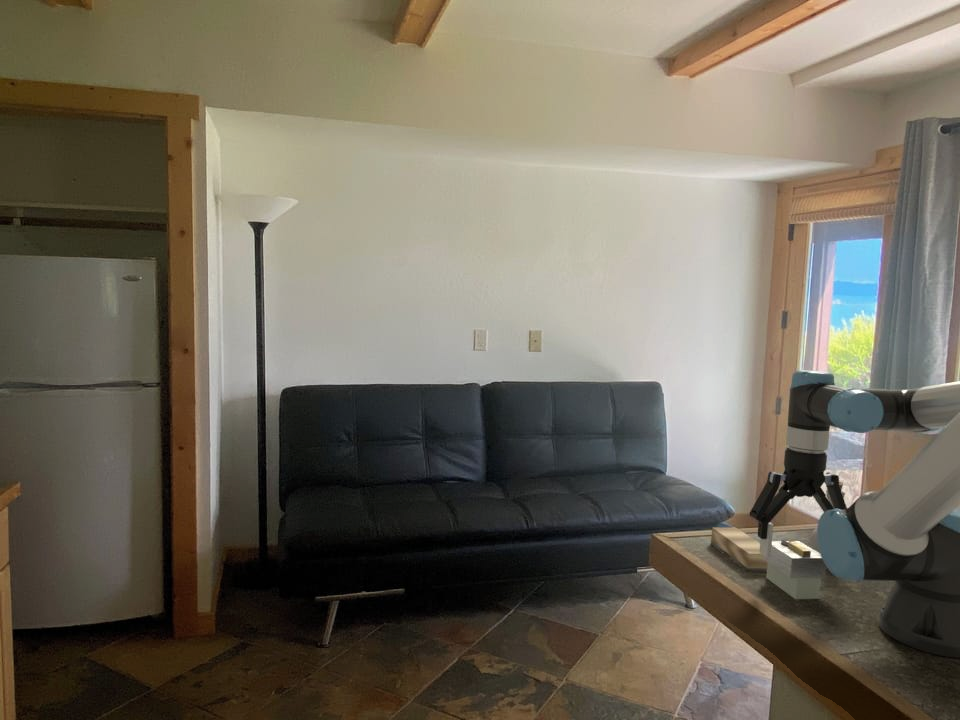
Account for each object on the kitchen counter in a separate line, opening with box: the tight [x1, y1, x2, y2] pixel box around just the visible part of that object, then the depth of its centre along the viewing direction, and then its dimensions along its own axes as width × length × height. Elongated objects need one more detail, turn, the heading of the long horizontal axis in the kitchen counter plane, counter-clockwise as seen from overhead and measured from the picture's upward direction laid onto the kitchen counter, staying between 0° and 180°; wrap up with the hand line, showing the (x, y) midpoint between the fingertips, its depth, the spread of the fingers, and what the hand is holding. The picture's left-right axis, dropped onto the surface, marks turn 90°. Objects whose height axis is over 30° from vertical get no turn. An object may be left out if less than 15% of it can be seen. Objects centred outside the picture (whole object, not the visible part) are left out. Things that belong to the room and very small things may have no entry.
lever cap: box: [764, 538, 827, 579], centre depth 137 cm, size 9×8×5 cm
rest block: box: [765, 563, 822, 600], centre depth 138 cm, size 10×5×4 cm, turn 9°
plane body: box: [710, 527, 768, 573], centre depth 153 cm, size 16×6×4 cm, turn 9°
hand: (796, 554), depth 137 cm, fingers open, 13 cm apart
